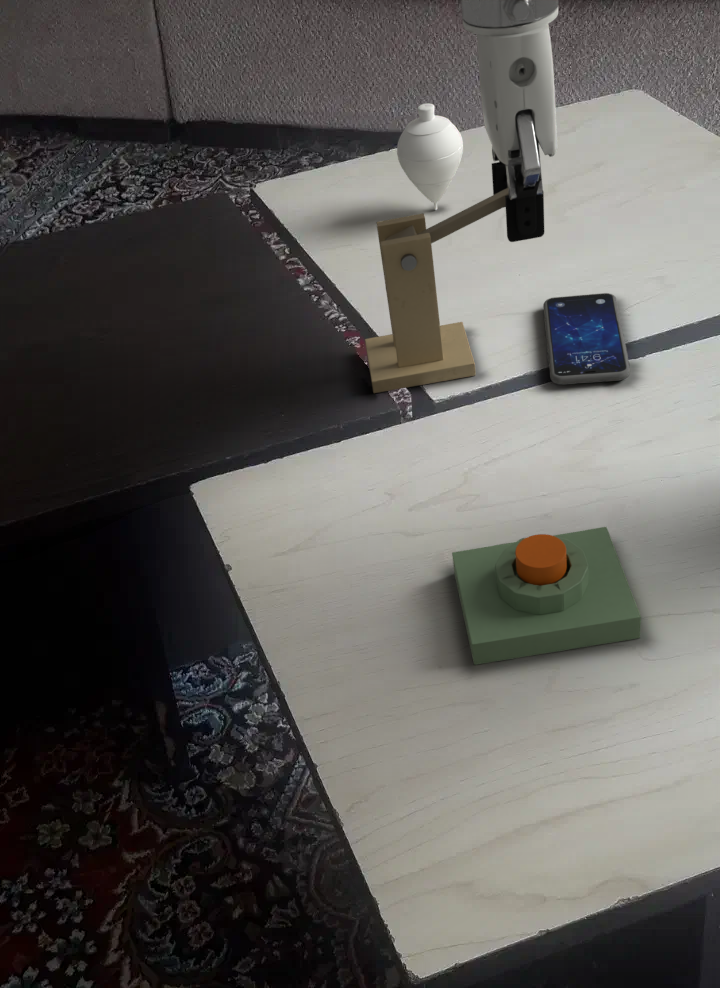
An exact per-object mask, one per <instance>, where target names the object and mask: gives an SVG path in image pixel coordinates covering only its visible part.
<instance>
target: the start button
mask: <svg viewBox="0 0 720 988" xmlns="http://www.w3.org/2000/svg"><path fill="white" fill-rule="evenodd" d="M524 538H525V539H523V540H522V541H521V542H520V543H519V544H518V546H517V547H516V551H515V554H516V570H517V574H518V576H519V577H520V578H521V579H522V580H523V581H525V582H527V583H529V584H533V585H548V584H552V583H554V582H556V581H558V580H560V579H561V578H562V577H563V576H564V574H565V572H566V569H567V563H566V546H565V544H564V543H563V542H562V541H561V540H560V539H559V538H557V537H555V536H553V535H551V534H546V533H540V534H539V533H538V534H533V535H530V536H527V537H524Z"/></svg>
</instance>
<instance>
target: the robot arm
mask: <svg viewBox="0 0 720 988" xmlns="http://www.w3.org/2000/svg"><path fill="white" fill-rule="evenodd" d="M460 5H461V18H462V27H463V29H464V30H465V31H466V32H469V33H471V34H474V35H476V40H477V59H478V61H477V62H478V63H477V64H478V76H479V77H478V79H479V91H480V99H481V111H482V120H483V125H484V129H485V132H486V134H487V136H488V140H489V142H490V144H491V155H492V160H493V162H492V163H491V177H492V192H493V193H492V196H493V195H495V194H497V193H499V192H500V191H502V190H504V189H506V188H507V186H506V184H505V181H504V176H505V174H506V173H507V183H508V193H509V195H506V196H505V204H506V206H505V207H503V208H504V209H505V218H506V219H505V222H506V223H505V224H506V237H507V240H508V242H510V243H515V242H516V243H517V242H519V241H520V242H522V241H526V240H531V239H537V238H542V237H544V235H545V199H544V197H545V196H544V195H545V194H544V193H545V192H544V187H543V176H542V165H541V153H540V148H541V150H542V152H543V154H544V156H549V158H551V157H552V158H553V157H554V156H555V155H556V154H557V152H558V149H559V147H558V146H559V145H558V127H557V125H558V124H557V109H556V108H557V107H556V105H557V104H556V89H555V88H556V87H555V71H554V59H553V49H552V41H551V40H552V39H551V33H550V26H549V25H550V23H552V22H553V21H554V20H556V19H557V17H558V15H559V0H460ZM514 170H516V171H518V172H519V173H518V174H517V178H516V180H515V172H514ZM515 181H516V182H515ZM503 208H502V209H503Z"/></svg>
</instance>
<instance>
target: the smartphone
mask: <svg viewBox="0 0 720 988" xmlns="http://www.w3.org/2000/svg"><path fill="white" fill-rule="evenodd" d="M542 308H543V317H544V326H545V338H546V348H547V352H546V357H547V358H546V359H547V364H548V366H549V367H548V368H549V377H550V380H551V382H553V383H554V384H556V385H561V386H562V385H563V386H564V385H573V384H574V385H575V384H576V385H577V384H587V383H588V384H589V383H601V382H615V381H622V380H625V379H627V378H628V377H629V376H630V373H631V368H630V360H629V354H628V350H627V344H626V342H625V337H624V332H623V327H622V321H621V316H620V311H619V305H618V300H617V297H616V296H615V295H614V294H612V293H608V292H603V293H592V294H591V293H590V294H589V293H588V294H580V295H569V296H567V295H566V296H555V297H554V296H553V297H550V298H547V299H546V300H544V302H543V306H542Z"/></svg>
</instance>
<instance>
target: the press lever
mask: <svg viewBox="0 0 720 988" xmlns="http://www.w3.org/2000/svg"><path fill="white" fill-rule="evenodd" d="M514 172H515V180H516V178H517V174H518V173H519V172H518V171H516V170H514ZM504 181H505V184H506V186H507V188H506V189H504V190H502V191H500V192H499V193H497V194H495V195H493V194H492V195H491V196H489V197H487V198H485V199H483V200H481V201H479V202H477V203H475V204H473V205H471V206H468V207H467V208H465V209H463V210H461V211H459V212H457V213H455V214H453V215H452V216H451V215H450V217H447V218H446V219H443V220H441V221H440V222H438V223H436V224H434V225H432V226H430V227H428V228H426V230H424V231H422V232H420V233H418V234H417V233H416V231H415V229H414V227H413V225H411V226H409V227H407V228H406V229H404V230H402V231H400V232H398V233H396V234H394V235H392V236H390V237H388V238H386V239H385V241H386V240H392V239H397V238H402V237H408V236H413V235H419V234H424V233H429V234H430V237H431V245H432V244H433V243H435V242H437V241H440V240H442V239H444V238H445V237H448V236H450V235H451V234H454V233H456V232H457V231H459V230H462V229H463V228H465V227H467V226H470V225H471V224H473V223H475V222H477V221H480V220H482V219H484V218H485V217H487V216H490V215H491V214H493V213H495V212H498V211H499V210H501V209H503V207H504V208H506V207H505V206H506V204H505V196H506V195H509V193H508V183H507V173H506V174H505V176H504ZM515 182H516V181H515Z"/></svg>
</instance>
